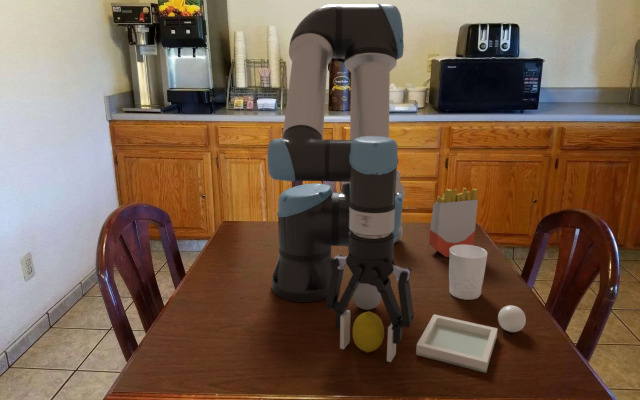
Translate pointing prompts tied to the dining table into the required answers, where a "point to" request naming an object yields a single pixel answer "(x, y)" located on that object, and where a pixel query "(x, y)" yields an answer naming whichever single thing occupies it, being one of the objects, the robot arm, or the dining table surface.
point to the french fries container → (453, 220)
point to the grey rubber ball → (366, 296)
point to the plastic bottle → (401, 190)
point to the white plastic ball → (511, 318)
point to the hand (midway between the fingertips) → (367, 351)
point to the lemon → (368, 331)
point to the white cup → (466, 271)
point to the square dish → (458, 342)
